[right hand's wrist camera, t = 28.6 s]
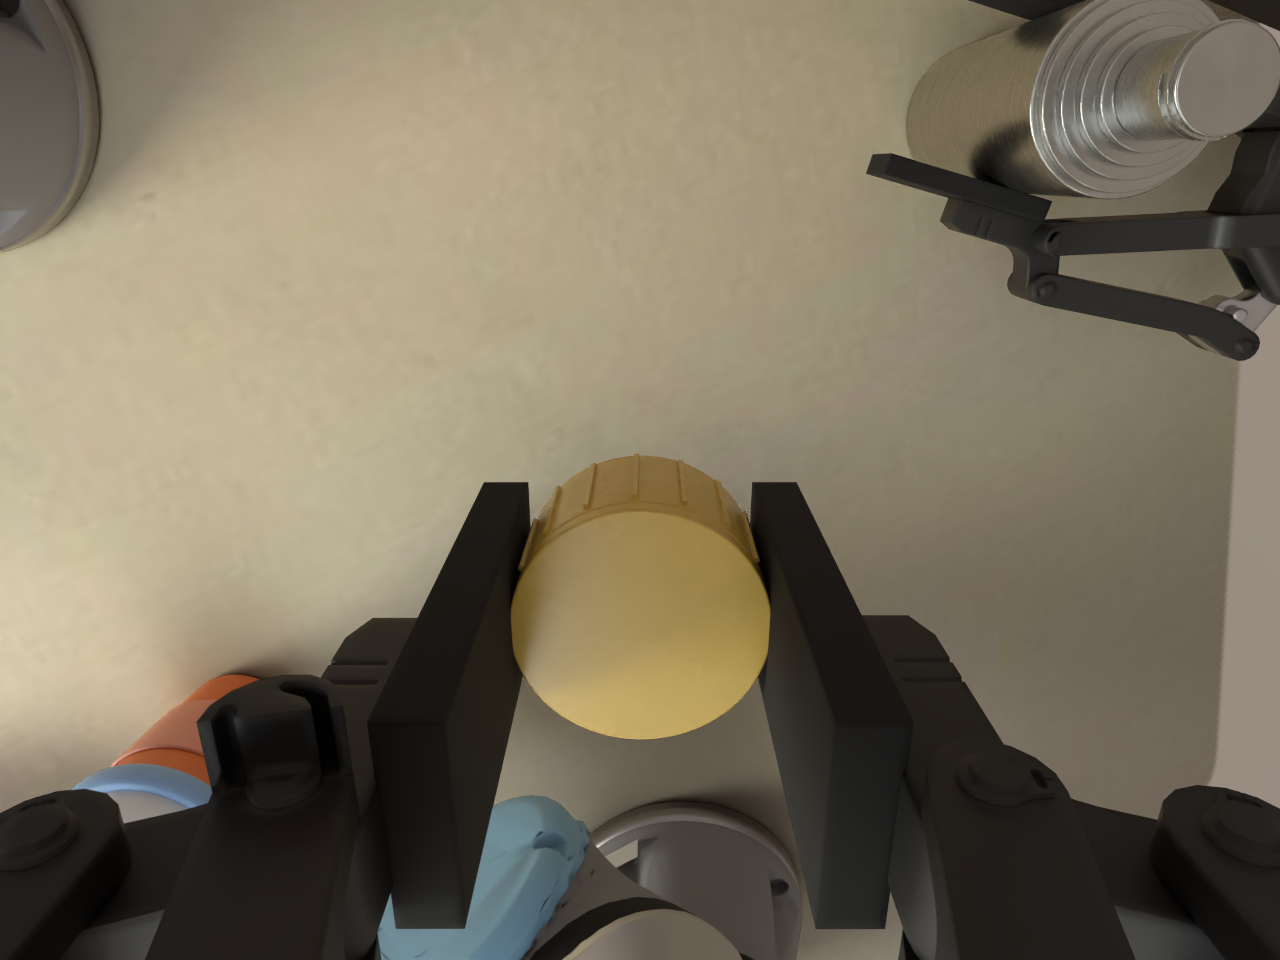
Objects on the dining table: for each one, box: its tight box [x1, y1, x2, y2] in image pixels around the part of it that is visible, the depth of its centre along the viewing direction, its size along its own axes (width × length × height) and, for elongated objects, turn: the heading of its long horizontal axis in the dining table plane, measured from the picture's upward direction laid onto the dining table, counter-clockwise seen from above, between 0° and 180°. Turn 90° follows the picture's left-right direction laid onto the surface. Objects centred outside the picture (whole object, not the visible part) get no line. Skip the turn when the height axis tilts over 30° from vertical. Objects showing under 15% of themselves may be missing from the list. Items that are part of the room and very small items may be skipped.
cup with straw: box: [71, 675, 260, 823], centre depth 41 cm, size 9×9×18 cm
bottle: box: [906, 0, 1280, 199], centre depth 30 cm, size 6×6×18 cm
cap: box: [511, 454, 770, 739], centre depth 13 cm, size 4×4×2 cm
